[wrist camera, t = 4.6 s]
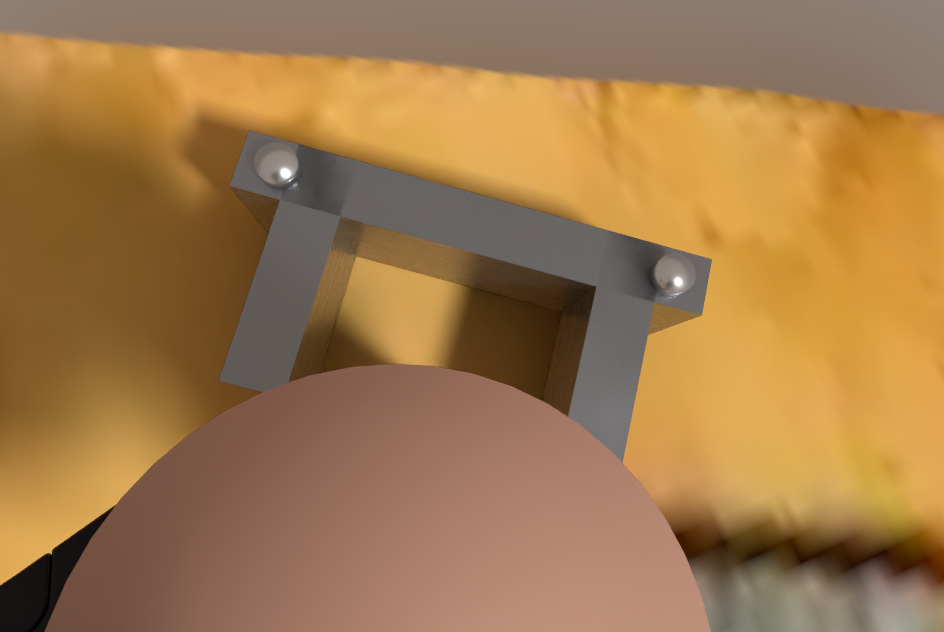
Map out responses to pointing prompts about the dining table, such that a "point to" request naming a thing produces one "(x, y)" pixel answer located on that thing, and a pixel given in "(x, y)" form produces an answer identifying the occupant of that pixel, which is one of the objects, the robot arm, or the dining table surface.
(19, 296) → the dining table surface
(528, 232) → the bracket
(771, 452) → the dining table surface
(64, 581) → the robot arm
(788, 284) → the dining table surface
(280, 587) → the mushroom
